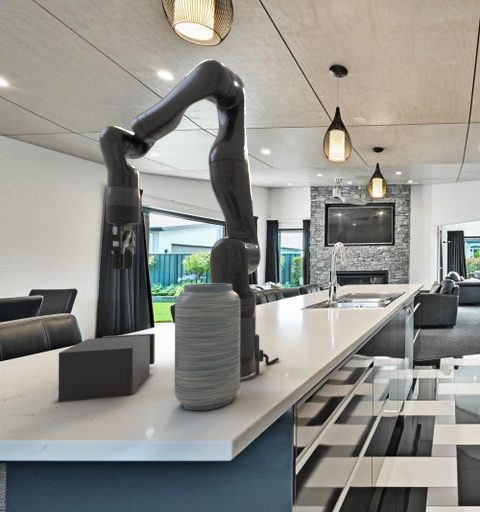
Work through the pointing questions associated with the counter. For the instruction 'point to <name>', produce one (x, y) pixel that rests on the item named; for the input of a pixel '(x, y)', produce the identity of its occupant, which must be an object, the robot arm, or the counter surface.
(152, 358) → the dark grey drawer
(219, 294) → the vase
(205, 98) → the robot arm
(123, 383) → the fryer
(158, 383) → the counter surface
